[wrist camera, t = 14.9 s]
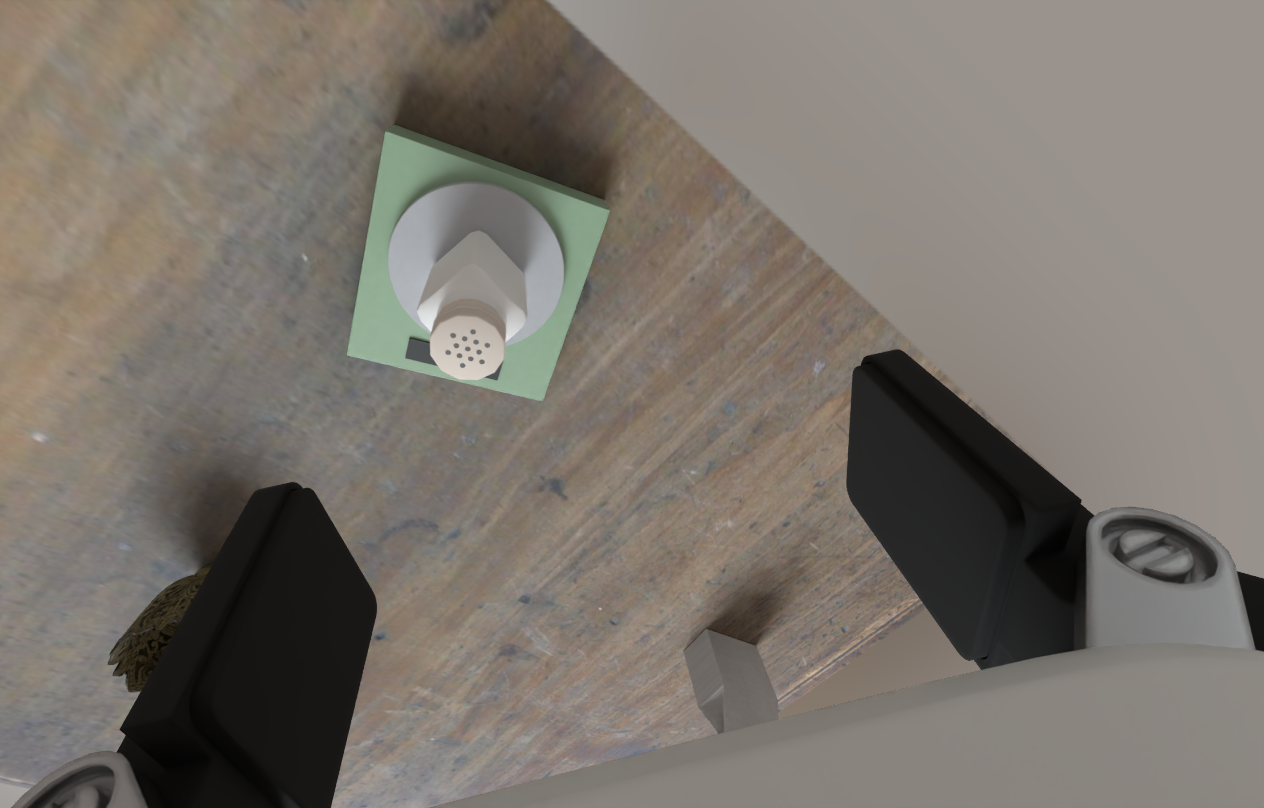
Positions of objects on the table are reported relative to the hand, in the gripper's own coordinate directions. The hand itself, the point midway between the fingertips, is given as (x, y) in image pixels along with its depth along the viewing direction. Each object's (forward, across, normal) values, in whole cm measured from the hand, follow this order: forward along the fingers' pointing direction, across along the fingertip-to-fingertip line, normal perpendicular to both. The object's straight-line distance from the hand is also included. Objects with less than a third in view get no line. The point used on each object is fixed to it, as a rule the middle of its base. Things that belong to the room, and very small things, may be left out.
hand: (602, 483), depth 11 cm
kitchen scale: (+28, +5, +5) cm, 29 cm away
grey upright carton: (+28, -7, +48) cm, 56 cm away
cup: (+28, +30, +24) cm, 48 cm away
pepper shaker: (+26, +5, +4) cm, 26 cm away
